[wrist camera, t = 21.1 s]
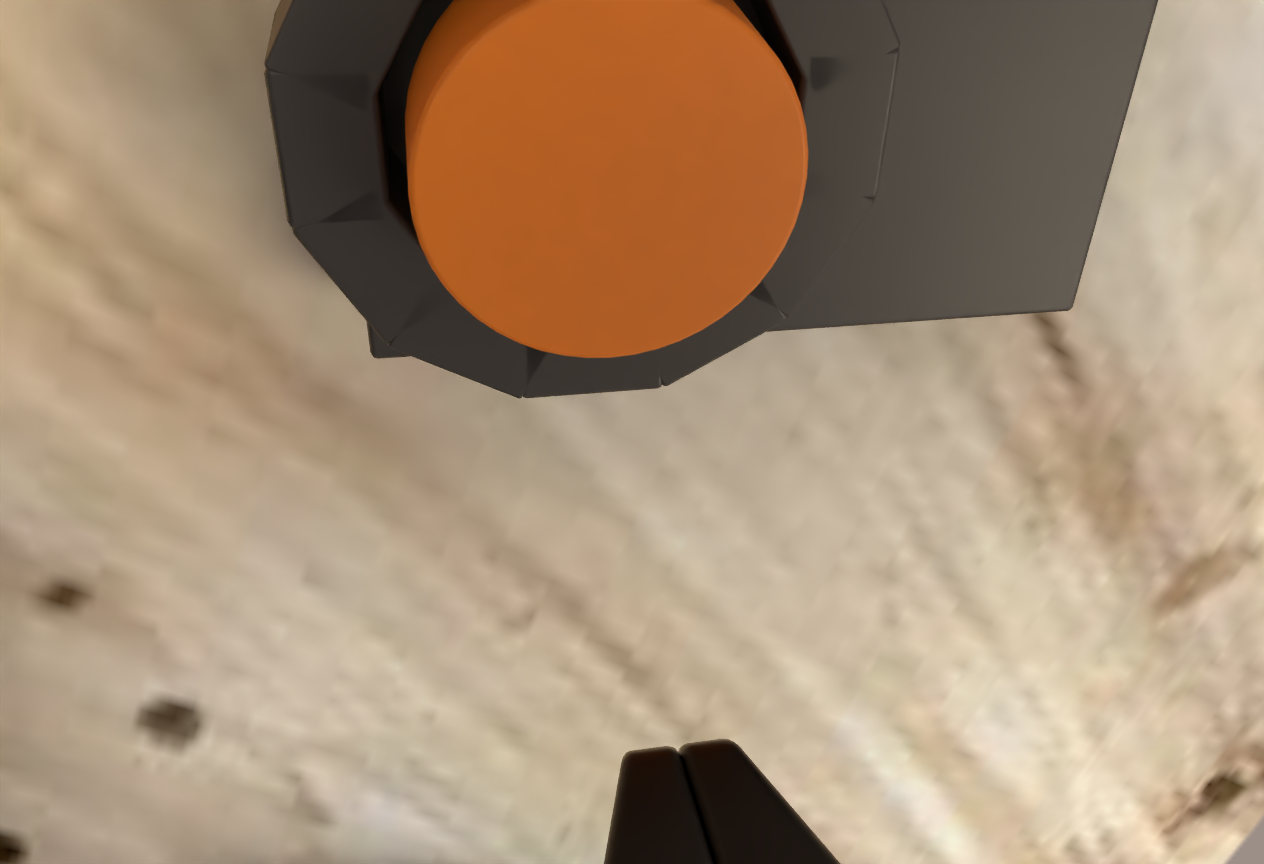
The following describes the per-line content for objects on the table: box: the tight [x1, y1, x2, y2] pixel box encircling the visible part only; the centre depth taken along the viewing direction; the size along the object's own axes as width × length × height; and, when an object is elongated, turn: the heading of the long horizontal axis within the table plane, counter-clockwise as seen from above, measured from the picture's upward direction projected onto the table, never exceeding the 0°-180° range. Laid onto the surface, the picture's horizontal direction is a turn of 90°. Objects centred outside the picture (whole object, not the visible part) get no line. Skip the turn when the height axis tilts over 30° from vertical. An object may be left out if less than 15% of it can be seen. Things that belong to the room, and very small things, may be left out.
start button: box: [405, 0, 808, 358], centre depth 14 cm, size 4×4×2 cm
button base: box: [264, 0, 1158, 398], centre depth 16 cm, size 12×8×4 cm
